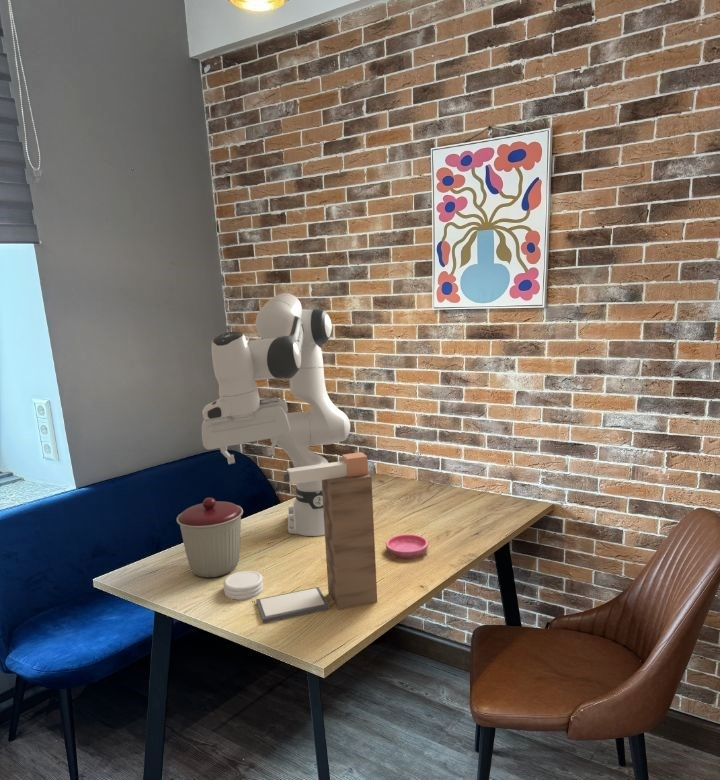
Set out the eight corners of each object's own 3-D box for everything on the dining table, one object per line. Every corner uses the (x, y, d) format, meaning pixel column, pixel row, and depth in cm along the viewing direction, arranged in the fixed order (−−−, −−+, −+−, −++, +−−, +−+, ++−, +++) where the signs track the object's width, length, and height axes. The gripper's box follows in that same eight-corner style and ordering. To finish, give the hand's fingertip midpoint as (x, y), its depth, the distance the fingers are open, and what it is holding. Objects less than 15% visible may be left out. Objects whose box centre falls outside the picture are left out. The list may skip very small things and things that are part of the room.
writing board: (256, 603, 148) (256, 598, 148) (318, 590, 153) (318, 586, 153) (263, 623, 139) (262, 618, 139) (328, 608, 144) (328, 604, 143)
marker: (282, 480, 141) (280, 463, 140) (362, 469, 147) (361, 452, 147) (285, 486, 137) (284, 467, 136) (368, 474, 143) (367, 456, 142)
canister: (259, 568, 168) (254, 496, 164) (201, 591, 156) (194, 515, 152) (227, 550, 181) (221, 483, 178) (171, 570, 169) (163, 499, 166)
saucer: (406, 565, 165) (406, 555, 164) (377, 552, 174) (376, 542, 174) (437, 552, 173) (437, 541, 172) (407, 540, 182) (407, 530, 182)
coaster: (218, 590, 156) (217, 578, 156) (252, 578, 162) (251, 566, 161) (235, 605, 148) (233, 592, 148) (270, 591, 154) (269, 579, 153)
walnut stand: (328, 593, 151) (321, 472, 146) (365, 585, 154) (359, 466, 149) (338, 610, 143) (330, 482, 138) (377, 601, 146) (371, 476, 141)
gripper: (285, 392, 141) (294, 446, 144) (197, 407, 138) (209, 463, 141) (286, 398, 135) (296, 455, 138) (195, 414, 132) (207, 472, 135)
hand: (251, 459), depth 140 cm, fingers open, 8 cm apart
